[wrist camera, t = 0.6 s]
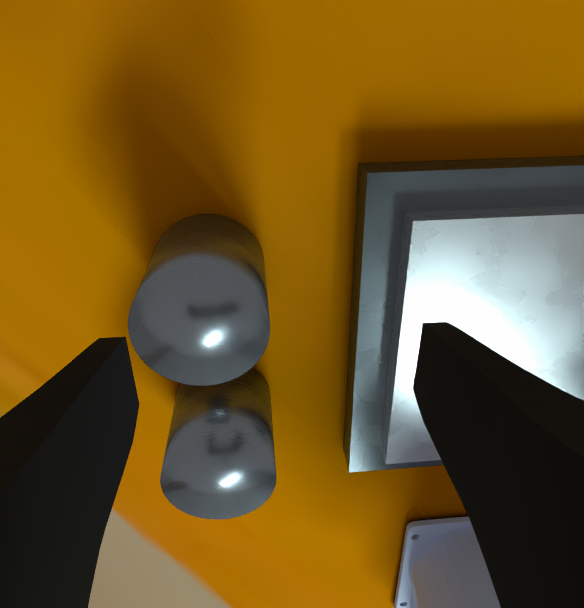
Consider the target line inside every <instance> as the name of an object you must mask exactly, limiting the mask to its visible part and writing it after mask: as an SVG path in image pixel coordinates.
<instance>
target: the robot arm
mask: <svg viewBox="0 0 584 608" xmlns="http://www.w3.org/2000/svg"><path fill="white" fill-rule="evenodd" d="M413 391H414V394H415V398H416V401H417V404H418V408H419V410H420V413H421V416H422V419H423V422H424V425H425V427H426V429H427V431H428V433H429V435H430V437H431V439H432V442H433V444H434V446H435V448H436V450H437V452H438V454H439V456H440V458H441V460H442V462H443V464H444V466H445V468H446V470H447V472H448V474H449V476H450V478H451V480H452V482H453V484H454V486H455V489H456V491H457V493H458V495H459V497H460V499H461V501H462V503H463V505H464V508H465V510H466V512H467V514H468V516H467V517H456V518H444V519H433V520H421V521H413V522H410V523H409V524H408V525H407V527H406V532H405V539H404V545H403V551H402V558H401V564H400V571H399V577H398V583H397V590H396V596H395V603H394V608H584V400H582V399H580V398H577V397H575V396H573V395H571V394H569V393H567V392H565V391H563V390H561V389H559V388H557V387H555V386H554V385H552V384H550V383H548V382H546V381H545V380H543V379H541V378H539V377H537V376H535V375H534V374H532V373H530V372H528V371H527V370H525V369H523V368H522V367H520V366H518V365H517V364H515V363H513V362H512V361H510V360H508V359H507V358H505V357H503V356H502V355H500V354H499V353H497V352H495V351H494V350H492V349H491V348H489V347H488V346H486V345H484V344H483V343H481V342H480V341H478V340H477V339H475V338H473V337H472V336H470V335H469V334H467V333H465V332H464V331H462V330H461V329H459V328H457V327H455V326H454V325H452V324H450V323H448V322H433V323H423V324H422V331H421V337H420V344H419V350H418V357H417V364H416V370H415V377H414V383H413ZM138 409H139V401H138V396H137V391H136V386H135V381H134V376H133V371H132V366H131V361H130V356H129V351H128V346H127V341H126V337H114V338H99V339H98V340H96V341H95V342H94V343H92V344H91V345H90V346H89V347H88V348H86V349H85V350H84V351H83V352H82V353H80V354H79V355H78V356H77V357H76V358H75V359H73V360H72V361H71V362H70V363H69V364H68V365H66V366H65V367H64V368H63V369H62V370H61V371H59V372H58V373H57V374H56V375H55V376H53V377H52V378H51V379H50V380H49V381H47V382H46V383H45V384H44V385H43V386H41V387H40V388H39V389H38V390H36V391H35V392H34V393H32V394H31V395H30V396H28V397H27V398H26V399H24V400H23V401H22V402H20V403H19V404H18V405H17V406H15V407H14V408H13V409H11V410H10V411H9V412H7V413H6V414H5V415H3V416H2V417H1V418H0V608H88V603H89V598H90V593H91V588H92V583H93V579H94V574H95V569H96V564H97V559H98V555H99V550H100V546H101V542H102V538H103V535H104V531H105V527H106V525H107V521H108V518H109V515H110V512H111V509H112V506H113V503H114V500H115V497H116V493H117V490H118V487H119V484H120V481H121V478H122V475H123V472H124V468H125V465H126V462H127V459H128V456H129V452H130V449H131V446H132V443H133V438H134V432H135V427H136V421H137V415H138Z"/></svg>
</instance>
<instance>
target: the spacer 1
mask: <svg viewBox="0 0 584 608" xmlns="http://www.w3.org/2000/svg"><path fill="white" fill-rule="evenodd" d="M128 330H129V336H130V339H131V342H132V345H133V347H134V349H135V351H136V352H137V354H138V355H139V357H140V358H141V359H142V360H143V361H144V362H145V363H146V364H147V365H148V366H149V367H150V368H151V369H153V370H154V371H155V372H157V373H158V374H160V375H162V376H164V377H166V378H168V379H170V380H173V381H176V382H179V383H183V384H188V385H197V386H207V385H216V384H220V383H224V382H227V381H230V380H233V379H235V378H237V377H239V376H241V375H242V374H244V373H246V372H247V371H248V370H249V369H251V368H252V367H253V366H254V365H255V364H256V363H257V362H258V360H259V359H260V358H261V356H262V355H263V353H264V351H265V349H266V346H267V343H268V340H269V335H270V322H269V310H268V299H267V287H266V275H265V264H264V256H263V253H262V250H261V247H260V245H259V243H258V241H257V240H256V238H255V237H254V236H253V234H252V233H251V232H250V231H249V230H248V229H247V228H246V227H244V226H243V225H242V224H240V223H238V222H237V221H235V220H233V219H230V218H228V217H225V216H221V215H216V214H198V215H193V216H189V217H186V218H184V219H182V220H180V221H178V222H176V223H175V224H173V225H172V226H171V227H170V228H169V229H168V230H167V231H166V232H165V233H164V234H163V236H162V237H161V239H160V241H159V242H158V244H157V247H156V249H155V251H154V254H153V256H152V258H151V261H150V263H149V265H148V268H147V270H146V273H145V275H144V277H143V280H142V282H141V284H140V287H139V289H138V291H137V294H136V296H135V298H134V301H133V303H132V306H131V308H130V312H129V317H128Z"/></svg>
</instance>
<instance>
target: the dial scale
mask: <svg viewBox="0 0 584 608" xmlns="http://www.w3.org/2000/svg"><path fill="white" fill-rule="evenodd" d="M433 322H448V323H450V324H452V325H454V326H455V327H457V328H459V329H461V330H462V331H464V332H465V333H467V334H469V335H470V336H472V337H473V338H475V339H477V340H478V341H480V342H481V343H483V344H484V345H486V346H488V347H489V348H491V349H492V350H494V351H495V352H497V353H499V354H500V355H502V356H503V357H505V358H507V359H508V360H510V361H512V362H513V363H515V364H517V365H518V366H520V367H522V368H523V369H525V370H527V371H528V372H530V373H532V374H534V375H535V376H537V377H539V378H541V379H543V380H545V381H546V382H548V383H550V384H552V385H554V386H555V387H557V388H559V389H561V390H563V391H565V392H567V393H569V394H571V395H573V396H575V397H577V398H580V399H582V400H584V156H562V157H533V158H503V159H474V160H444V161H415V162H385V163H359V167H358V186H357V205H356V224H355V243H354V262H353V281H352V300H351V319H350V338H349V357H348V376H347V395H346V414H345V433H344V454H345V458H346V462H347V466H348V471H349V472H360V471H373V470H386V469H399V468H411V467H424V466H437V465H444V464H443V462H442V460H441V458H440V456H439V454H438V452H437V450H436V448H435V446H434V444H433V442H432V439H431V437H430V435H429V433H428V431H427V429H426V427H425V425H424V422H423V419H422V416H421V413H420V410H419V408H418V404H417V401H416V398H415V394H414V391H413V383H414V377H415V370H416V364H417V357H418V350H419V344H420V337H421V331H422V324H423V323H433Z"/></svg>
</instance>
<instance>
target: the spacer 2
mask: <svg viewBox="0 0 584 608" xmlns="http://www.w3.org/2000/svg"><path fill="white" fill-rule="evenodd" d="M160 482H161V488H162V491H163V493H164V495H165V496H166V498H167V499H168V501H169V502H170V503H171V504H172V505H174V506H175V507H176V508H178V509H179V510H181V511H183V512H185V513H187V514H190V515H193V516H196V517H200V518H206V519H228V518H234V517H238V516H241V515H245V514H247V513H249V512H251V511H253V510H255V509H257V508H258V507H260V506H261V505H262V504H263V503H264V502H266V501H267V499H268V498H269V497H270V496H271V494H272V492H273V490H274V488H275V484H276V467H275V453H274V439H273V424H272V410H271V396H270V390H269V386H268V384H267V382H266V380H265V379H264V378H263V376H262V375H261V374H260V373H259V372H257V371H256V370H255V369H253V368H251V369H249V370H248V371H247V372H246V373H244V374H242V375H241V376H239V377H237V378H235V379H233V380H230V381H227V382H224V383H220V384H216V385H207V386H197V385H188V384H183V383H180V384H179V387H178V390H177V394H176V399H175V405H174V410H173V415H172V420H171V425H170V430H169V435H168V441H167V446H166V451H165V456H164V461H163V466H162V472H161V479H160Z"/></svg>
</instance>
